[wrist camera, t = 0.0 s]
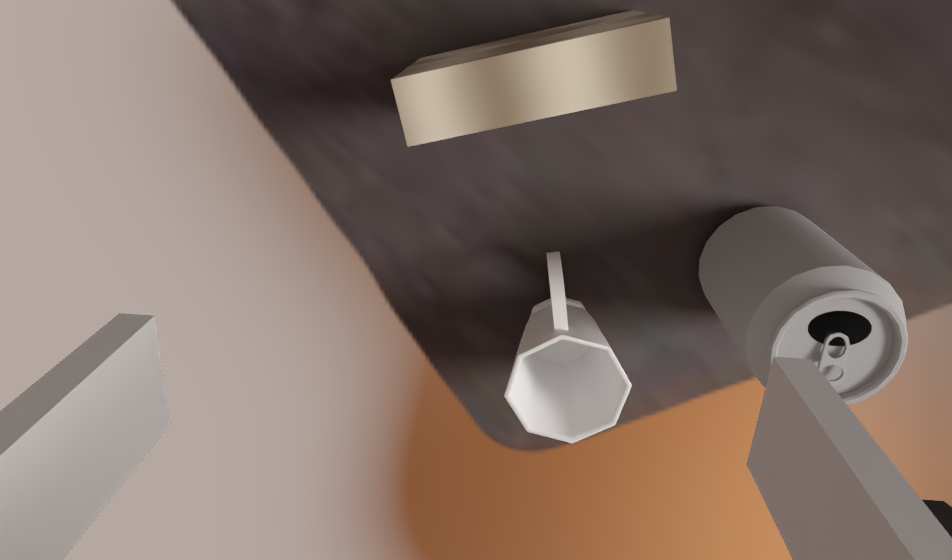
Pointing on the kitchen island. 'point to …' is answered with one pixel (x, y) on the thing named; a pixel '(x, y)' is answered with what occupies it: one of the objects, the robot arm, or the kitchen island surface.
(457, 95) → the cream wavy slab
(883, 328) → the can
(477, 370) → the kitchen island surface
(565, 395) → the cup
